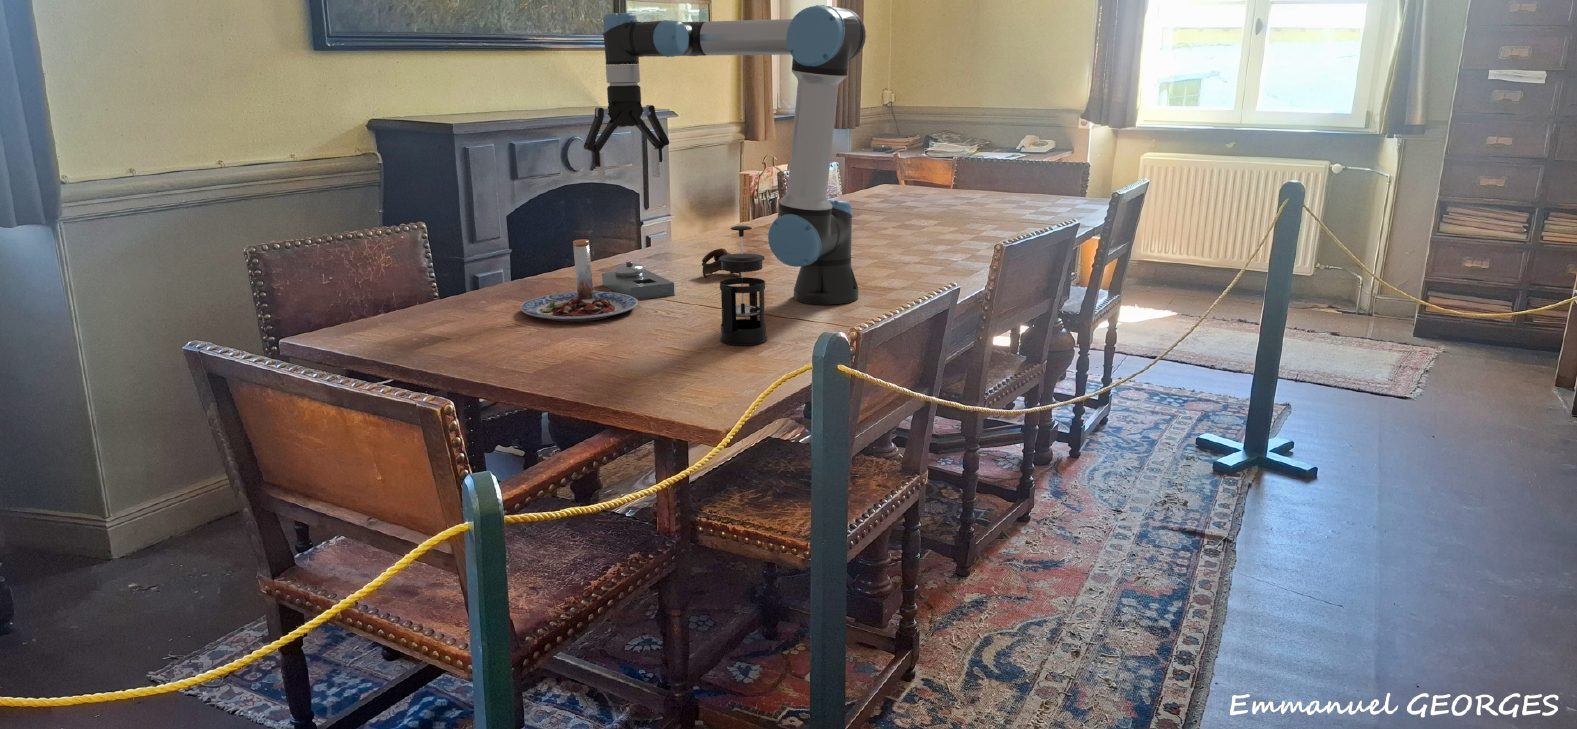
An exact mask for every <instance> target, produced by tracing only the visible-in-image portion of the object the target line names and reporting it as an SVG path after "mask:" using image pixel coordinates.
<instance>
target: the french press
mask: <svg viewBox="0 0 1577 729" xmlns="http://www.w3.org/2000/svg"><path fill="white" fill-rule="evenodd" d="M730 230H731V231H738V237H740V253H731V254H729V255H724V256H721V257H719V260H720V261H721V264H722V270H721V271H723V270H724V271H725V272H729V273H730V272H741V277H738V276H737V277H730V278H725V279H722V280H720V281H719V290H720V295H721V323H720V338H719V339H720V340H719V341H720V343H721V344H724V345H726V346H731V347H752V346H759V345H762V344H765V343H766V342H767V341H768V337H767V335H766V334H767V333H766V332H767V329H766V328H767V327H766V326H767V324H766V319H765V289H766V281H765V279H762V278H759V277H747V276H746V277H744V273H750V272H751V273H752V272H757V271H761V270H762V269H763V261H764V260H765V258H766V257H765V256H764V255H762V254H756V253H747V252H746V253H743V252H744V251H743V248H744V247H743V238H744V236H745V234H744V232H745V231H749V230H752V227H751V226H749V225H735V226H731V227H730ZM724 271H723V272H724ZM744 284H745V286H744ZM737 285H739V286H737ZM747 285H748V286H747ZM758 292H759V293H758ZM737 294H741V303H740V304H737ZM744 294H748V295H749V296H748V297H749V298H748V299H749V302H748V303H749V304H745V301H744V299H745V298H744V297H745V296H744ZM758 294H759V295H758ZM758 296H759V299H758ZM758 300H759V301H758ZM758 303H759V304H758ZM758 316H759V319H758ZM747 317H748V318H747ZM738 318H739V319H738Z"/></svg>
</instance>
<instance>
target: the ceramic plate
mask: <svg viewBox="0 0 1577 729" xmlns="http://www.w3.org/2000/svg"><path fill="white" fill-rule="evenodd" d="M638 304H639V300H637V299H635V298H634V297H632V296H629V295H625V294H620V293H616V292H610V291H593V298H592V299H587V300H580V299H578V296H577V291H574V292H572V291H571V292H562V293H561V292H560V293H555V294H549V295H544V296H543V295H542V296H539V297H536V298H532V299H529V300H527V301H525V302H524V303H522V304H521V306H520V310H521V312H522V313H524V314H526V315H529V316H531V317H536V318H542V319H546V318H547V319H548V320H550V319H552V320H551V321H556V320H559V321H558V322H587V321H594V320H603V319H606V318H607V319H608V318H609V317H614V316H615V315H618V314H622V313H627V311H631V310H632V309H634V308H636V307H637V306H638ZM545 310H546V311H545ZM543 313H552V314H551V315H550V314H549V315H548V314H547V315H546V314H545V315H544V314H543ZM547 319H546V320H547Z"/></svg>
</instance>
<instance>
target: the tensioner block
mask: <svg viewBox="0 0 1577 729" xmlns="http://www.w3.org/2000/svg"><path fill="white" fill-rule="evenodd" d="M614 268H615V270H614V271H610V272H601V280H602V281H601V282H602V286H604V287H605V288H607V289H609V290H611V291H613V292H614V293H620V294H625V295H629V296H632V297H634V298H635V299H637V301H640V300H644V299H645V300H646V299H653V298H662V297H672V296H675V282H673V281H671V280H669V279H666V278H665V277H662V276H660V275H658V274H656V273H654V272H652V271H650V270H648V269H645V265H644V264H642V263H633V261H626V262H625V263H622V264H618V265H615V266H614Z"/></svg>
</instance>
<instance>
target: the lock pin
mask: <svg viewBox="0 0 1577 729" xmlns="http://www.w3.org/2000/svg"><path fill="white" fill-rule="evenodd" d="M572 244H573V256H574V270H575V280H576V282H575V283H576V292H577V296H578V299H580V300H587V299H592V298H593V292H594V289H593V285H594V284H593V276H592V263H591V262H592V261H591V248H590V240H589V239H587V238H586V239H585V238H583V239H582V238H581V239H576V240H575V239H574V240H573V241H572Z"/></svg>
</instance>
